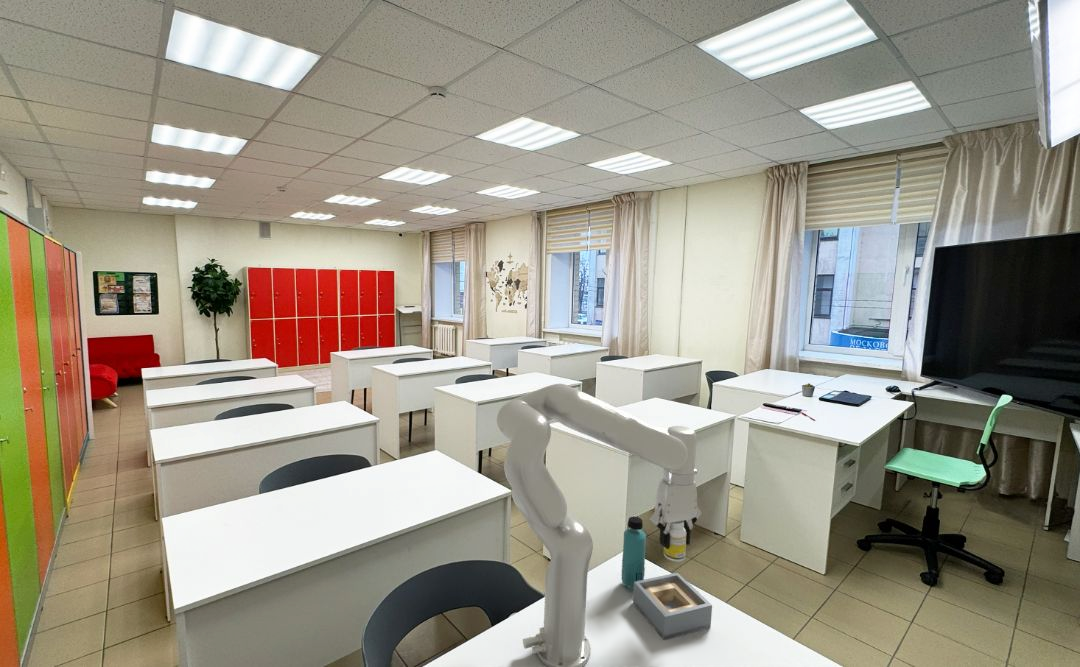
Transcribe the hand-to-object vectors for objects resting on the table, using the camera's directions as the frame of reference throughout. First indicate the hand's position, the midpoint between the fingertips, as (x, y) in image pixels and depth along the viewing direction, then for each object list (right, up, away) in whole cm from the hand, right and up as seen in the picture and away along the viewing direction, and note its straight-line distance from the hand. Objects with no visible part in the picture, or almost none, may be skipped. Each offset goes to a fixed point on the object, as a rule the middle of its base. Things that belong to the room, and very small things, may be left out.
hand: (674, 543), depth 118 cm
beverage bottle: (-8, -18, +13) cm, 24 cm away
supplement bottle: (0, -4, 0) cm, 4 cm away
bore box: (-1, -20, +2) cm, 20 cm away
